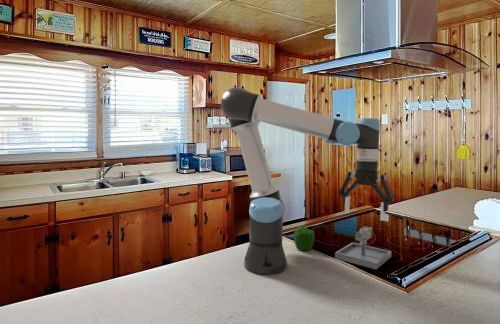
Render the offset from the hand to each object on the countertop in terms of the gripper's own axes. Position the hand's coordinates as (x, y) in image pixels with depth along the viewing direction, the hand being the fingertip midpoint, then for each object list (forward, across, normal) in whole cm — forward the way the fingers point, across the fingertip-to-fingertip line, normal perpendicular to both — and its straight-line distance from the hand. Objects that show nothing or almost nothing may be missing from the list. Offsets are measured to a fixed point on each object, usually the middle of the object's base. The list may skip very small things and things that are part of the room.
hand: (364, 216), depth 124 cm
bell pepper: (+16, -22, -7) cm, 28 cm away
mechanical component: (+15, 0, 0) cm, 15 cm away
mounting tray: (+16, 0, 0) cm, 16 cm away
